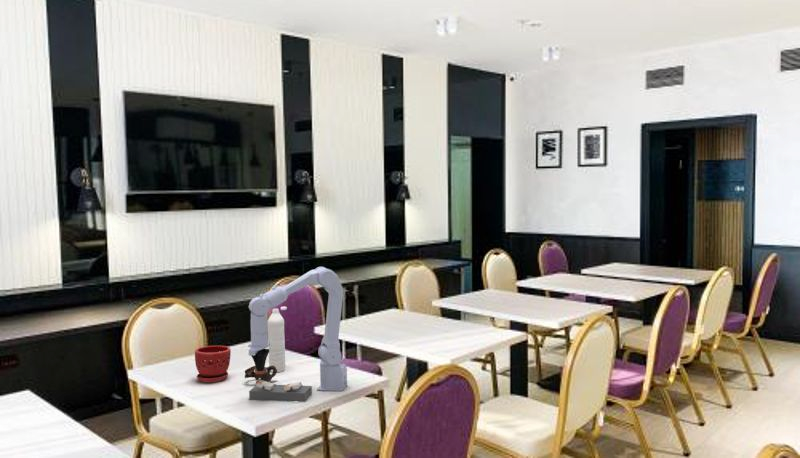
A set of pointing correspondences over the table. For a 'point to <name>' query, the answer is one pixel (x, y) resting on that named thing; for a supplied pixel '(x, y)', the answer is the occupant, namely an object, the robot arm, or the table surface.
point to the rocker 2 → (292, 386)
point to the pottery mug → (261, 373)
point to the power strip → (281, 393)
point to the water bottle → (276, 340)
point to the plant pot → (212, 363)
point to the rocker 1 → (265, 385)
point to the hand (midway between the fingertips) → (260, 370)
